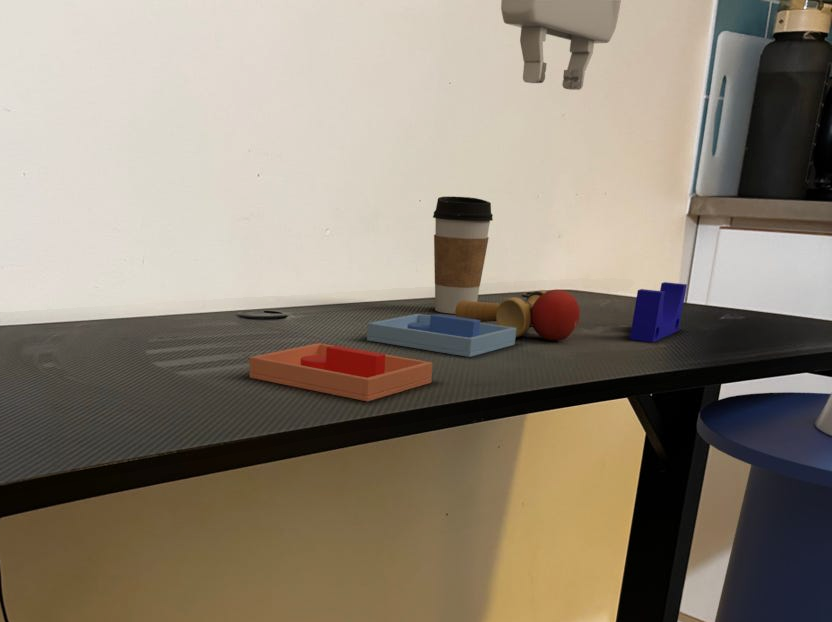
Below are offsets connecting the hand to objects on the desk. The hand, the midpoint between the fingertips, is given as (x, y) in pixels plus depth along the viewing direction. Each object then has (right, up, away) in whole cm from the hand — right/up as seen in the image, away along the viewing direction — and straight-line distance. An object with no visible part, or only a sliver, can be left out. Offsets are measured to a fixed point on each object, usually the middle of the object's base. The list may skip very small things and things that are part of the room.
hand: (553, 86), depth 101 cm
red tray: (-22, -32, -5) cm, 39 cm away
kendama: (0, -18, +24) cm, 30 cm away
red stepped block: (-22, -32, -5) cm, 39 cm away
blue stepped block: (-10, -21, +16) cm, 29 cm away
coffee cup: (-6, -10, +40) cm, 41 cm away
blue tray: (-10, -22, +16) cm, 29 cm away
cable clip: (+19, -17, +28) cm, 37 cm away
